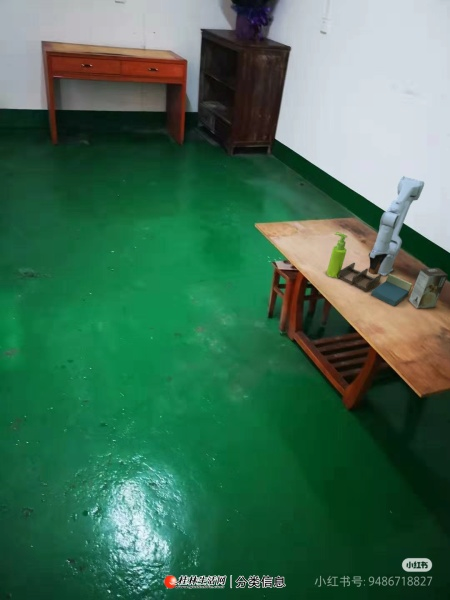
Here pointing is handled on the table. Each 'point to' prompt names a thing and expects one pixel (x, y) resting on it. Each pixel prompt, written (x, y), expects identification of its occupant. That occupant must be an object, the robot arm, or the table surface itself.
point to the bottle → (375, 269)
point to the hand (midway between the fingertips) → (374, 267)
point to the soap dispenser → (337, 257)
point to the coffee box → (428, 287)
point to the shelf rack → (358, 277)
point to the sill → (392, 290)
